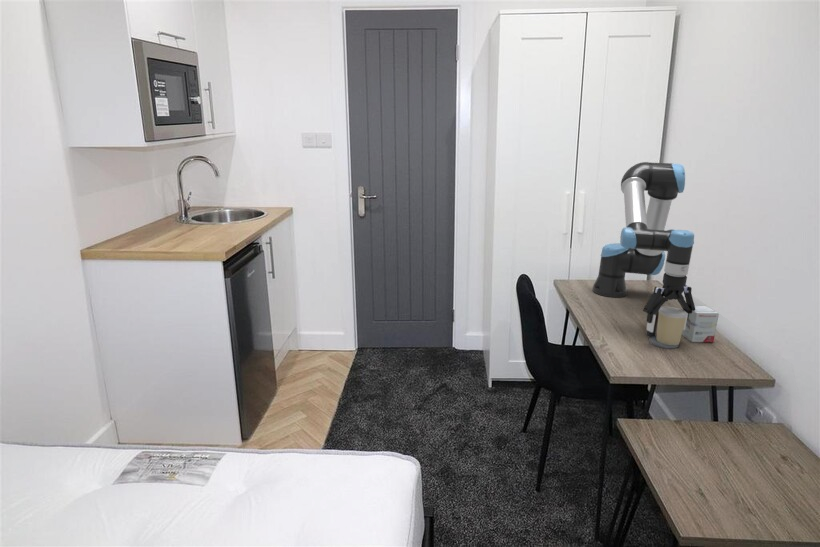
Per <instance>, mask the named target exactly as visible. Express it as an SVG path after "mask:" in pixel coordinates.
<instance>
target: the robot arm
mask: <svg viewBox="0 0 820 547" xmlns="http://www.w3.org/2000/svg"><path fill="white" fill-rule="evenodd" d="M685 186H686V171H685V167H684V165H682V164H680V163H673V162H671V163H669V162H649V161H642V162H639V163H636V164H634V165H632V166H631V167H629V168H628V169H627V170H626V172H624V174H623V176H622V178H621V181H620V191H621V192H622V194H623V196H624V197H623V200H624V214H625V215H624V216H625V217H624V218H625V227H623V228H622V229H621V232H620V236H619V237H620V240H619V242H620V243H619V242H618V243H617V242H615V243H613V242H612V243H608V244H605V245H604V246H602V248H601V254H600V262H599V271H598V276H596V279H595V281H594V283H593V286H592V292H593V293H594V294H597V295H599V296H602V297H608V298H609V297H610V298H623V297H625V296H627V294H628V293H627V291H628V289H627V284H626V280H625V278H626V274H636V275H646V276H657V275H659V274H660V273H661V271H662V269H663V267H664V273H663V277H662V287H660V288H658V287H659V286H654V287H655V288H654V292H653V294H652V293H651V296H650V297H649V299H648V300H647V302H646V304H645V305H644V307H643V309H642V311H643V312H644V313H645V314H647V315H646V323H647V324H646V331H647V330H648V331H650V332H653V329H654V324H655V318H656V315H654V314H655V313H656V311H657V310H658V309H659V308H661V307H663V305H664V304H665V303H667V302H668V301H670V300H671V301H673V300H677V301H678V303H679V306H680V307H681V309H682V310H684V311H686V313H687V317H686V320H685V324H684V328H683V330H685V328H686V322H687V321H688V318H689V313H690V314H691V313H692V311H695V306H696V305H695V302H694V298H693V295H692V291H693V290H692V287H691V286H689V285H687V279H688V273H689V268H690V263H691V258H692V252H693V247H694V244H695V233H694V232H693V231H689V230H686V229H685V230H684V229H673V228H672V229H671V228H670V229H667V230H665V228H666V224H667V220H668V217H669V215H670V214H669V213H670V209H671V205H672V201H674V200H675V199H676V198H677V197H678V194H681V193H684V190H685ZM645 191H647V195H648V196H649V201H648V205H647V206H648V207H647V208H646V199H645ZM665 252H667V254H666V253H665ZM664 264H665V265H664Z"/></svg>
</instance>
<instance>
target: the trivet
mask: <svg viewBox="0 0 820 547" xmlns="http://www.w3.org/2000/svg"><path fill="white" fill-rule="evenodd" d="M656 338H657V335H656V336H653V337H649V338H648V342H649V343H650V344H651V345H653V346H654V347H655V346H656V347H658V348H661V349H668V350H669V349H671V350H672V349H677V348H678V347H679V345H680V343H679V344H678V345H666V344H663V343H660V342H658V341H657V339H656Z"/></svg>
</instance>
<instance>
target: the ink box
mask: <svg viewBox="0 0 820 547" xmlns="http://www.w3.org/2000/svg"><path fill="white" fill-rule="evenodd" d="M719 314H720V313H719V312H717V311H716V310H715V309H712V308H710V307H709V306H707V305H695V311H692V313H691V314H690V313H689V318H688V321H687V322H686V328H685V330H683V331H682V335H681V336H683V337H684V338H686V339H687V340H688V341H690V342H691V343H714V341H715V336H716V331H717V325H718V320H719V319H718V318H719Z"/></svg>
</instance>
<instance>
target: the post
mask: <svg viewBox="0 0 820 547" xmlns="http://www.w3.org/2000/svg"><path fill="white" fill-rule="evenodd" d="M660 308H661V307H660ZM660 308H659V309H660ZM659 309H658V310H657V311H656V313H655V314H654V315H656V318H655V324H654V329H653V332H650V331H648V330H646V334H645V335H646V337H648V336H650V337H653V336H657V326H658V316H659ZM650 337H649V338H650Z"/></svg>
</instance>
